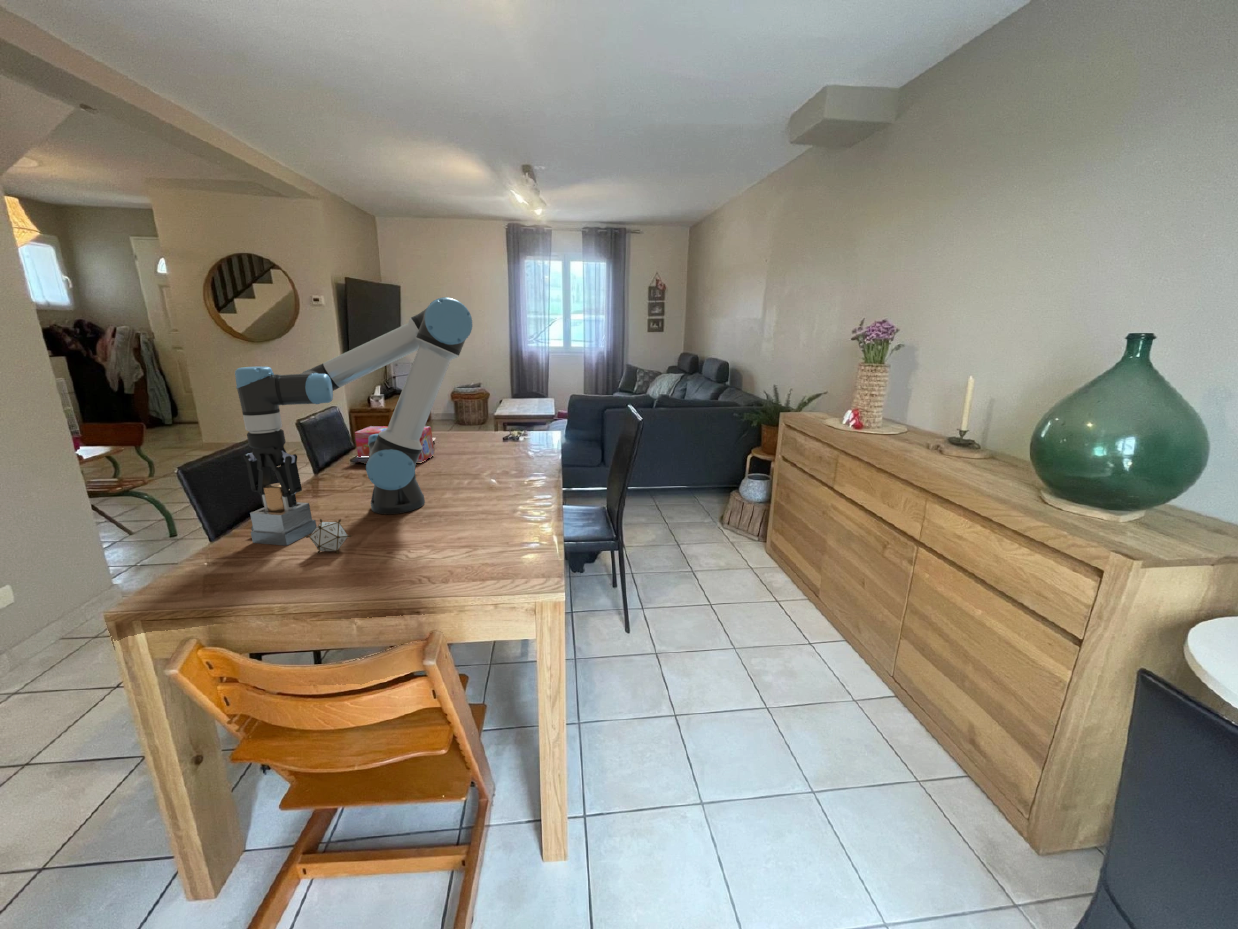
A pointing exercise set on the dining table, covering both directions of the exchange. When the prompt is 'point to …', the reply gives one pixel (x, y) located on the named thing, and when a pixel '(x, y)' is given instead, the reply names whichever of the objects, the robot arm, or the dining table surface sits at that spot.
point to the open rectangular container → (282, 525)
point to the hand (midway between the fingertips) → (282, 517)
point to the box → (363, 434)
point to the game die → (329, 536)
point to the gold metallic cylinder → (274, 498)
